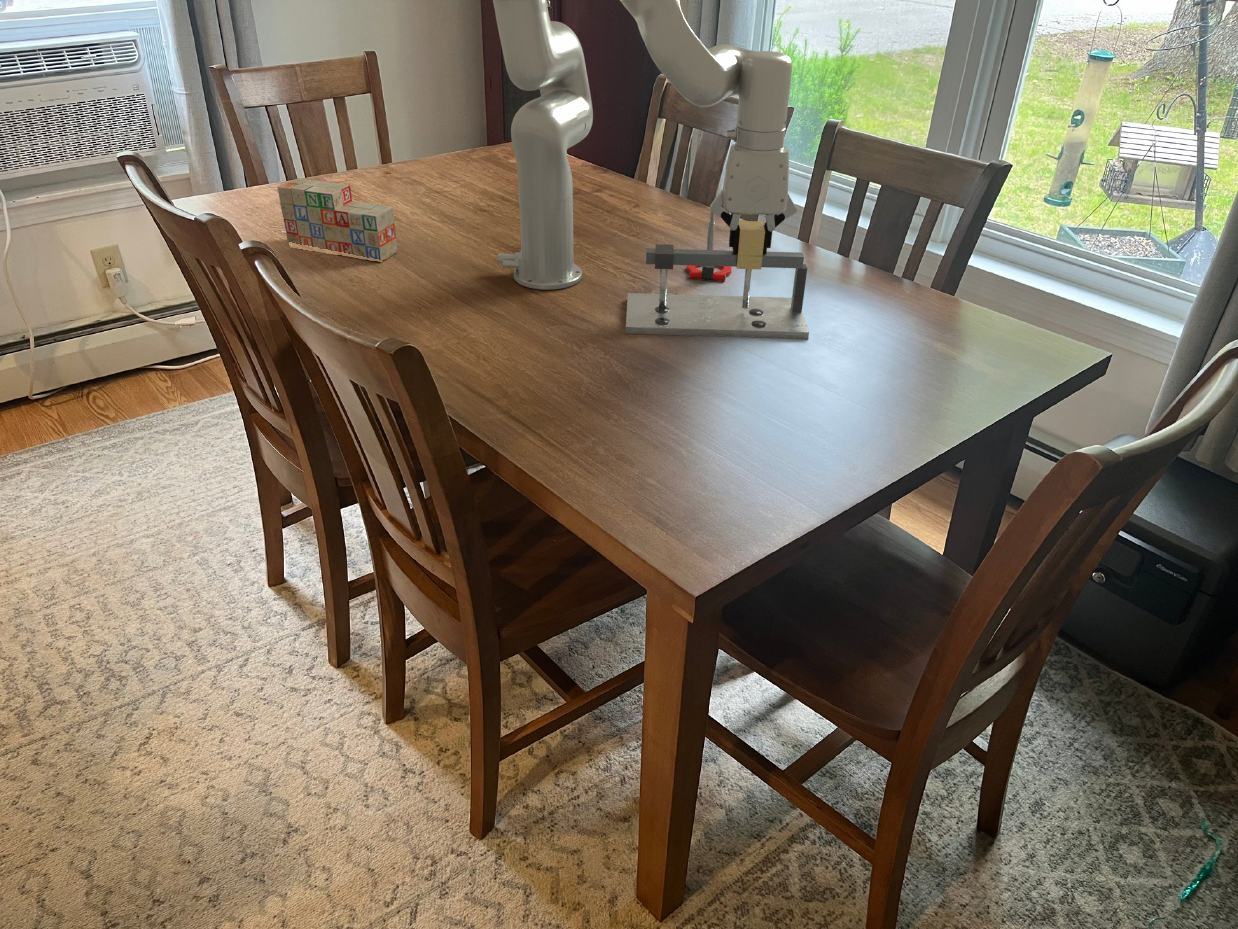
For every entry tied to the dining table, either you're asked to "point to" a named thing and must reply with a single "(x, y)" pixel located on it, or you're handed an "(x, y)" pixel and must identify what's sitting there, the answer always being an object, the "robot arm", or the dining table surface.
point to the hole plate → (714, 316)
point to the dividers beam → (669, 256)
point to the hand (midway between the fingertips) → (749, 250)
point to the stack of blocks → (336, 219)
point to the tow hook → (708, 271)
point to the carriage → (750, 252)
